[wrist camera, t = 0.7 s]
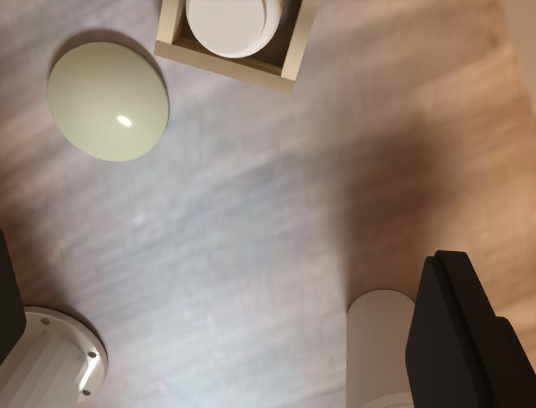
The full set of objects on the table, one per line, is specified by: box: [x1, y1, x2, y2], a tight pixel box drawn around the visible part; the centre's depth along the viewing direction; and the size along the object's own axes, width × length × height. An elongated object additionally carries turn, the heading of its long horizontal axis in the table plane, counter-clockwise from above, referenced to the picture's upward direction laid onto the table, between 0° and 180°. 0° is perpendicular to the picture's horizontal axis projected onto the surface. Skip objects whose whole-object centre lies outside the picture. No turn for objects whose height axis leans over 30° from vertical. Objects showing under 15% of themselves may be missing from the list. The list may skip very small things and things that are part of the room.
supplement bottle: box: [186, 0, 284, 58], centre depth 30 cm, size 5×5×10 cm
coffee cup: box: [346, 290, 415, 408], centre depth 39 cm, size 10×10×15 cm
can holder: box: [154, 0, 320, 95], centre depth 32 cm, size 10×10×4 cm
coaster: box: [48, 41, 170, 161], centre depth 38 cm, size 9×9×1 cm
